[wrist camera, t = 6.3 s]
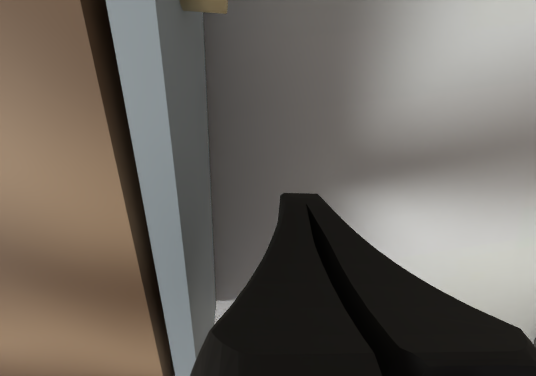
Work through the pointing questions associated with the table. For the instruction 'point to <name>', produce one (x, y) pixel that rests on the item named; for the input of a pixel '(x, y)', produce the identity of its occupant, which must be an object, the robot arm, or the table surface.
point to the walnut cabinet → (71, 203)
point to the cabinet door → (172, 155)
